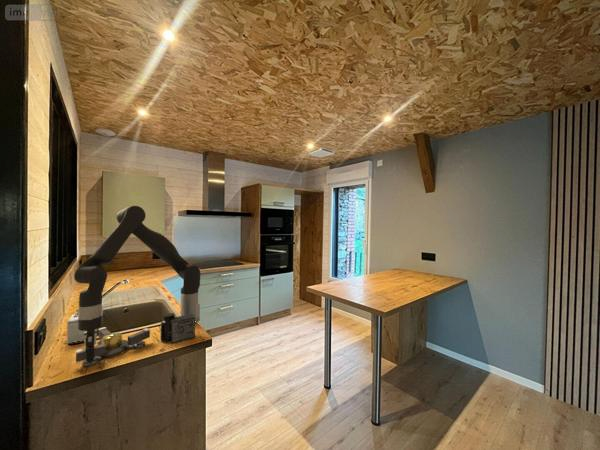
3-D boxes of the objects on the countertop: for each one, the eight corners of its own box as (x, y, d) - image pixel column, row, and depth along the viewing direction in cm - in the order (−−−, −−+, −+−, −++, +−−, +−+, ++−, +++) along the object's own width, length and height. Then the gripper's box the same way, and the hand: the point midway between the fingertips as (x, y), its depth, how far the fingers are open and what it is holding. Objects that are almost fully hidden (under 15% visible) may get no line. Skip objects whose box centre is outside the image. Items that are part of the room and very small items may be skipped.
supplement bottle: (173, 342, 116) (173, 317, 116) (157, 342, 115) (158, 317, 115) (178, 335, 123) (178, 311, 123) (164, 336, 122) (164, 312, 122)
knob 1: (103, 354, 102) (103, 342, 102) (104, 356, 100) (104, 344, 100) (75, 362, 96) (75, 350, 96) (76, 365, 94) (76, 352, 94)
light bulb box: (71, 335, 122) (71, 314, 122) (88, 332, 126) (88, 311, 126) (66, 344, 113) (66, 321, 113) (85, 340, 117) (85, 318, 117)
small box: (192, 333, 126) (192, 313, 126) (195, 338, 120) (195, 317, 120) (169, 338, 120) (169, 317, 120) (171, 344, 114) (171, 321, 114)
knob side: (111, 342, 112) (111, 331, 112) (104, 344, 110) (104, 333, 110) (104, 337, 117) (105, 326, 117) (98, 339, 115) (98, 328, 115)
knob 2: (131, 347, 108) (131, 336, 108) (127, 346, 109) (127, 335, 109) (149, 339, 116) (149, 329, 116) (146, 338, 117) (146, 328, 116)
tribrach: (121, 335, 123) (121, 321, 123) (147, 345, 113) (147, 330, 113) (64, 356, 103) (64, 340, 103) (90, 370, 93) (90, 352, 93)
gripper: (79, 312, 101) (79, 352, 101) (76, 323, 90) (76, 368, 90) (102, 308, 106) (102, 346, 106) (102, 318, 95) (102, 361, 95)
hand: (90, 356), depth 98 cm, fingers open, 7 cm apart
